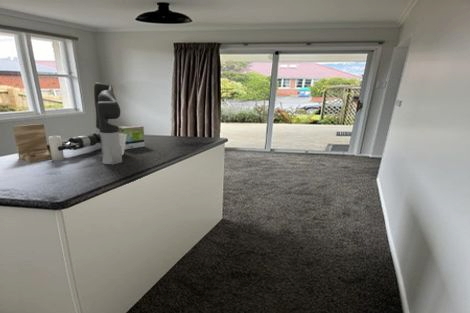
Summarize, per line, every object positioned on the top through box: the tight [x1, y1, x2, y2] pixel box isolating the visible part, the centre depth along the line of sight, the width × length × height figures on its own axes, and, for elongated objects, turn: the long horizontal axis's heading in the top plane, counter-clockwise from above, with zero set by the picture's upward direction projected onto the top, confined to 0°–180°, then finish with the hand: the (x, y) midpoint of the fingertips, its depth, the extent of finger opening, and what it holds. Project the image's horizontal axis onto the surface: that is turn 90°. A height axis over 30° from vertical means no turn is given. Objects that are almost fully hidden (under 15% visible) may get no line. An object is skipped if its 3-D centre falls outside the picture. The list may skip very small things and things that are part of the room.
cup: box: [119, 133, 126, 156], centre depth 152 cm, size 12×12×12 cm
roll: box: [48, 135, 65, 162], centre depth 138 cm, size 6×6×13 cm
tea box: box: [117, 124, 145, 151], centre depth 172 cm, size 15×10×15 cm, turn 143°
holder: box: [12, 123, 52, 163], centre depth 139 cm, size 14×14×18 cm
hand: (52, 147), depth 136 cm, fingers open, 8 cm apart
